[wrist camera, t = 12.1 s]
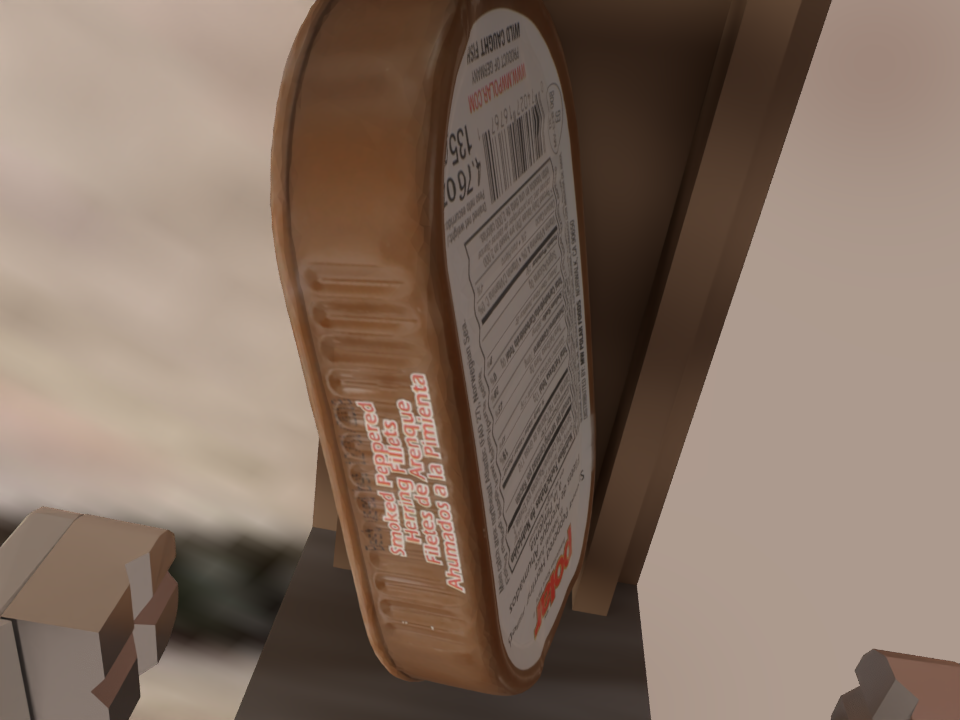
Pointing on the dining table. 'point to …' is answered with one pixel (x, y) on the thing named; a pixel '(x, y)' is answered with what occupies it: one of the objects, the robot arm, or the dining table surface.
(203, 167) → the dining table surface
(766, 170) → the holder
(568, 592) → the tin
